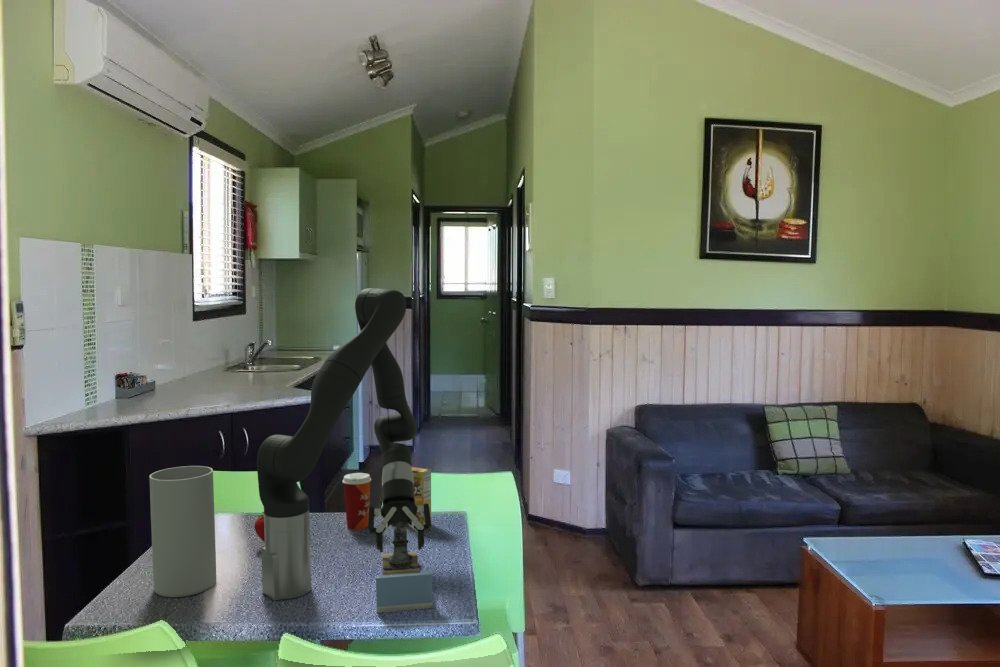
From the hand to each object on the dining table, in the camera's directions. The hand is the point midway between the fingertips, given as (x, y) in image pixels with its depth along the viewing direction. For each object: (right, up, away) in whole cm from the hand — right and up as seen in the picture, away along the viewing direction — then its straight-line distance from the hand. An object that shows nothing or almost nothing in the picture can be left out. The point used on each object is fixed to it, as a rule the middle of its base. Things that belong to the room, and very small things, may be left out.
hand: (400, 549), depth 162 cm
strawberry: (-36, -5, +21) cm, 42 cm away
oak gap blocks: (0, -6, +2) cm, 6 cm away
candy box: (-1, -4, +37) cm, 37 cm away
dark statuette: (0, -6, +2) cm, 6 cm away
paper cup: (-16, -4, +35) cm, 39 cm away
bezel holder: (+2, -7, -12) cm, 14 cm away
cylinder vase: (-46, -7, -4) cm, 47 cm away
